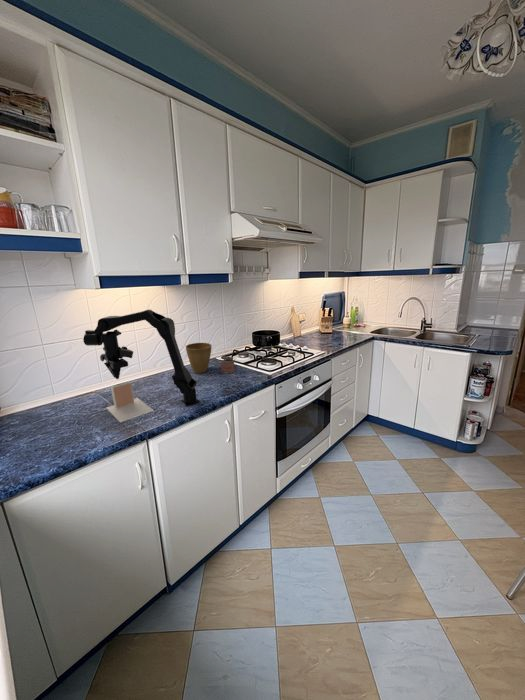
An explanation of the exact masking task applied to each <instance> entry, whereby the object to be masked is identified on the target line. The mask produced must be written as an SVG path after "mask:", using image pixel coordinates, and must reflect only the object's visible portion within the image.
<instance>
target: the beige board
mask: <svg viewBox="0 0 525 700" xmlns="http://www.w3.org/2000/svg"><path fill="white" fill-rule="evenodd" d="M106 409H107V411H109V413H110V414H111V415H112V416H113V417H115V419H116V420H117V421H118V422H119V423H123V422H126V421H128V420H131V419H134V418H136V417H139V416H143V415H146V414H149V413H151V412H154V409H153V408H151V407H150V406H149V405H148V404H147V403H145V402H143V401H142V400H141V399H140V398H138V397H136V398H135V397H134V403H131V404H128V405H125V406H122V407H119V408H115V407H114V404H113V405H111V406H107V407H106Z"/></svg>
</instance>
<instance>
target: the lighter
mask: <svg viewBox="0 0 525 700" xmlns="http://www.w3.org/2000/svg"><path fill="white" fill-rule="evenodd" d="M220 365H221V367H220V369H221V374H228V375H229V373H234V374H235V373H236V370H235V360H234V359H233V356H229V355H228V356H221V360H220Z"/></svg>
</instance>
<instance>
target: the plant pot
mask: <svg viewBox="0 0 525 700" xmlns="http://www.w3.org/2000/svg"><path fill="white" fill-rule="evenodd" d="M185 351H186V355H187V358H188V360H189V364H190V366H191V368H192V371H193V372H194V373H195V374H204V373H206V372H207V370H208V367H209V363H210V359H211V355H212V354H211V352H212V344H211V343H208V342H195V343H194V342H193V343H188V344H187V345H185Z"/></svg>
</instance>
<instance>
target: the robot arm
mask: <svg viewBox="0 0 525 700" xmlns="http://www.w3.org/2000/svg"><path fill="white" fill-rule="evenodd" d="M97 320H98V321H97V325H96V328H95V329H94V330H93V329H92V330H91V329H87V330H84V335H83V340H82V341H83V344H84V345H85V346H103V347H102V350H103V351H104V353H102V354H100V356H99V359H100V361H101V362H104V361H105V362H104V365H105V366H106V368H107V370H108V371H109V372H110V374H111V375H112V376H113V378H115V379H116V380H119V379H120V375H121V369H122V368H126V367H128V366H129V361H127V360H126V359H124V358H129V359H132V358H133V354H134V351H133V350H131V349H128V347H127V346H119V341H118V336H121V335H122V332H121V331H119V330H118V329H117V328H119V327H120V326H124V325H128V324H132V323H137V322H142V321H146V322H147V323H148V324H150V326H151V327H153V328H154V329H156V331H157V332H158V334H159V336H160V337H161V339H163V341H164V342H165V346H166V349H167V352H168V355H169V358H170V361H171V363H172V366H173V369H174V373H173V374H172V375H171V379H172V380H173V385H175V387H176V388H177V389H179V392H180V393H181V394H182V397H183V399H181V400H180V402H181V403H183V404H185V406H186V407H189V406H191V405H195V404H197V403H200V400H199V399H198V398H197V391H196V387H197V384H198V382H197V381H196V380H195V379H194V378H193V377H192V375H191V373H190V371H189V370H188V369H187V367H186V366H185V363H184V361H183V358H182V355H181V352H180V348H179V345H178V342H177V339H176V326H175V322H174V320H173V319H172V318H170V317H166V316H164V315H162V314H159V313H158V312H155V311H153V310H152V309H146V310H143V311H138V312H134V313H133V312H132V313H130V314H124V315H109V316H108V315H107V316H105V317H102V318H100V319H99V318H98V319H97ZM115 328H116V329H115ZM111 330H112V331H111Z"/></svg>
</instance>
